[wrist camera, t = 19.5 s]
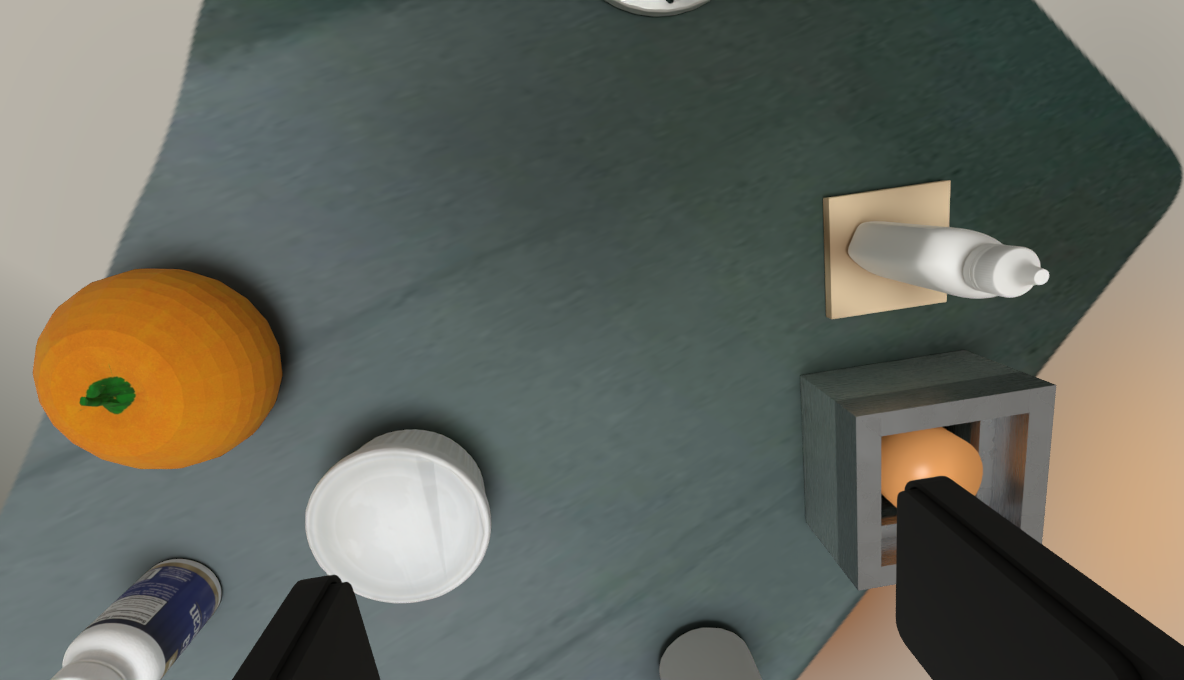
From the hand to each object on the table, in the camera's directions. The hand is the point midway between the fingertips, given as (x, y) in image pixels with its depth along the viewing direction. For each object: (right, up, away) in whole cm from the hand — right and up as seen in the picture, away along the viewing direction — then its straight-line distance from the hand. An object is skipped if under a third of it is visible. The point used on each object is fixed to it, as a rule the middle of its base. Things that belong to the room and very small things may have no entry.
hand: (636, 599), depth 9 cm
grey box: (+21, -3, +32) cm, 38 cm away
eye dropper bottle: (+19, +10, +27) cm, 35 cm away
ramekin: (-13, -6, +30) cm, 34 cm away
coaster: (+19, +10, +28) cm, 35 cm away
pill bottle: (-30, -14, +31) cm, 45 cm away
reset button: (+21, -3, +31) cm, 37 cm away
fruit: (-26, +4, +27) cm, 37 cm away
